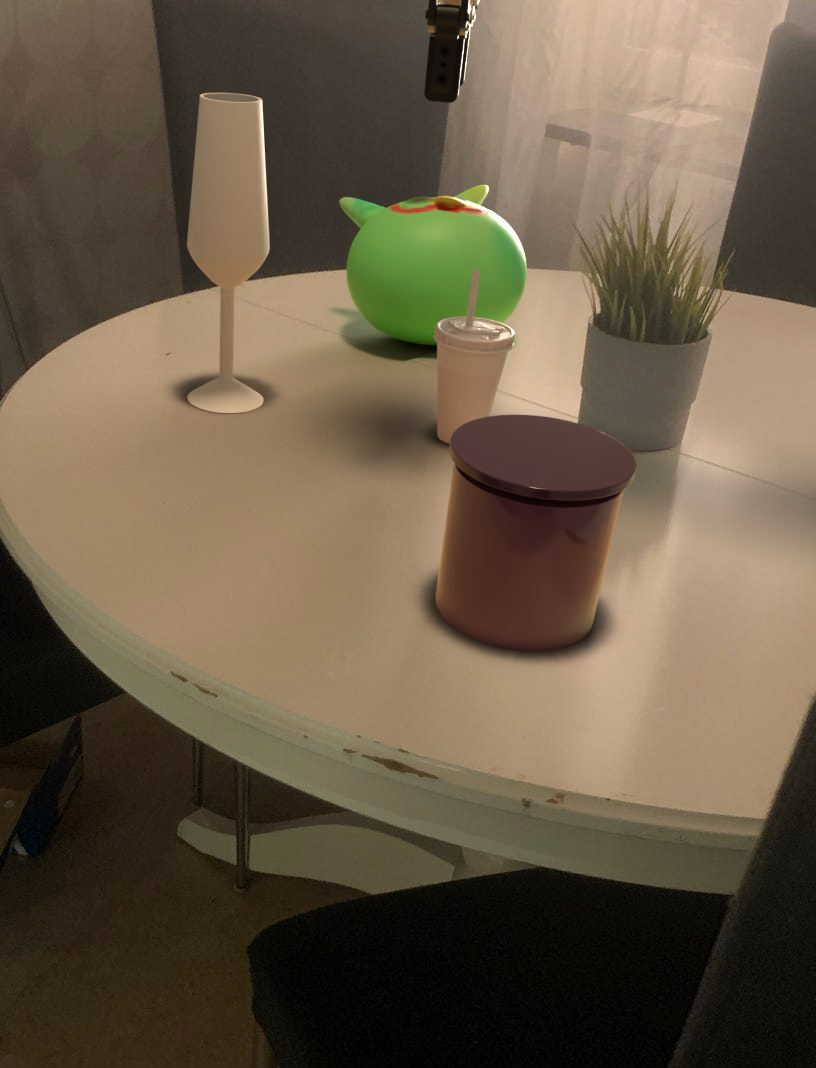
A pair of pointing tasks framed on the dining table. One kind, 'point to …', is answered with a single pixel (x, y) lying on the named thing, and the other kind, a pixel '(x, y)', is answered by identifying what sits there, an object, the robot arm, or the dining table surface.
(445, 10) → the robot arm
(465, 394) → the smoothie
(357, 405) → the dining table surface
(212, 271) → the champagne flute
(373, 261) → the green rounded blob
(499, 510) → the jar
